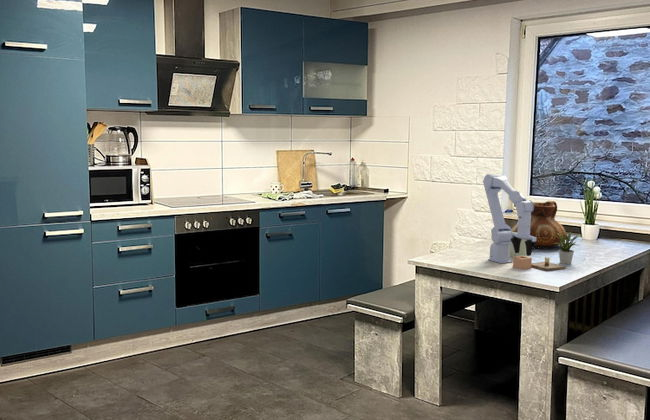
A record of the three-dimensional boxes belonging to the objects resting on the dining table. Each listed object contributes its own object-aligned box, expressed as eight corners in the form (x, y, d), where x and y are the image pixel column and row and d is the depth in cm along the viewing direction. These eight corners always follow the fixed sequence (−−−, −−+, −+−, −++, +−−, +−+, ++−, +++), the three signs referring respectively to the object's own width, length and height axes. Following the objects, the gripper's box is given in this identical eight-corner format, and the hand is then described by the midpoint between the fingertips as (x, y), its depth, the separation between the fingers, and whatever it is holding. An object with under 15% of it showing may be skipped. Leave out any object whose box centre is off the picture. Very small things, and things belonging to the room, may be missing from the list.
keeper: (528, 266, 318) (528, 256, 317) (546, 263, 324) (546, 254, 323) (547, 271, 307) (547, 261, 307) (565, 268, 313) (566, 259, 312)
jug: (559, 252, 352) (561, 206, 348) (503, 246, 367) (505, 202, 364) (570, 244, 377) (573, 201, 374) (518, 239, 393) (520, 197, 389)
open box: (512, 266, 316) (513, 256, 315) (522, 265, 319) (522, 255, 318) (521, 269, 311) (522, 259, 310) (531, 268, 314) (531, 257, 313)
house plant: (585, 267, 317) (587, 233, 314) (554, 266, 319) (556, 232, 317) (579, 261, 330) (581, 229, 328) (550, 260, 333) (552, 228, 331)
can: (521, 258, 337) (522, 234, 336) (504, 255, 343) (505, 232, 342) (529, 255, 344) (530, 232, 342) (512, 253, 350) (513, 230, 349)
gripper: (506, 224, 317) (505, 252, 318) (529, 228, 304) (527, 257, 306) (517, 223, 320) (516, 251, 322) (540, 227, 307) (538, 256, 309)
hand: (522, 254), depth 314 cm, fingers open, 7 cm apart
